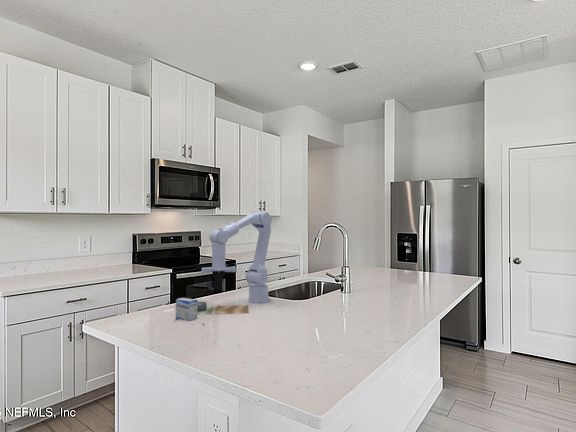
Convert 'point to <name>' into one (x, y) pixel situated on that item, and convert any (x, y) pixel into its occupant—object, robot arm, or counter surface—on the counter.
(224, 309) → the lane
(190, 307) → the medicine box
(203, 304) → the puck
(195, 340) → the counter surface
